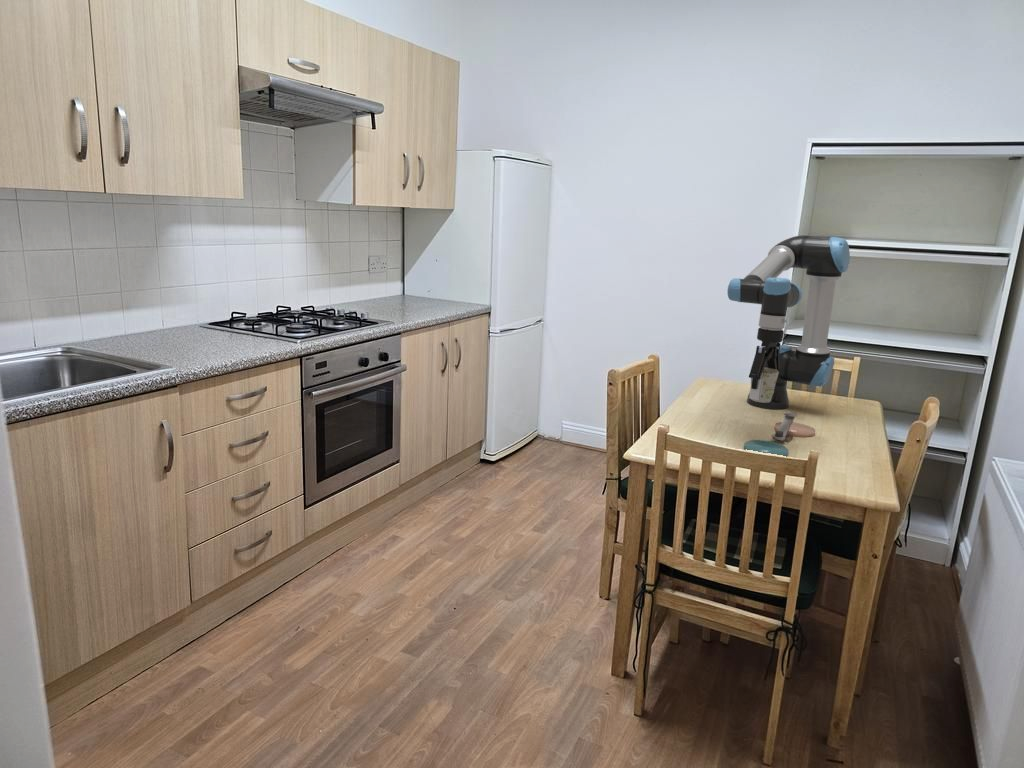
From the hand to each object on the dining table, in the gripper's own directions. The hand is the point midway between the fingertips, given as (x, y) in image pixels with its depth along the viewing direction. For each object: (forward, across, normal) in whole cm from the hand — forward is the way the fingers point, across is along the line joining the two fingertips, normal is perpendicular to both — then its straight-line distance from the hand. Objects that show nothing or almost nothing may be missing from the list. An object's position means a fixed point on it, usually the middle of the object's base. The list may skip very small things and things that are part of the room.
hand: (761, 395), depth 219 cm
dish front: (+16, -5, -6) cm, 17 cm away
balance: (+15, +11, -5) cm, 20 cm away
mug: (+2, 0, 0) cm, 2 cm away
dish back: (+15, +23, -5) cm, 28 cm away
